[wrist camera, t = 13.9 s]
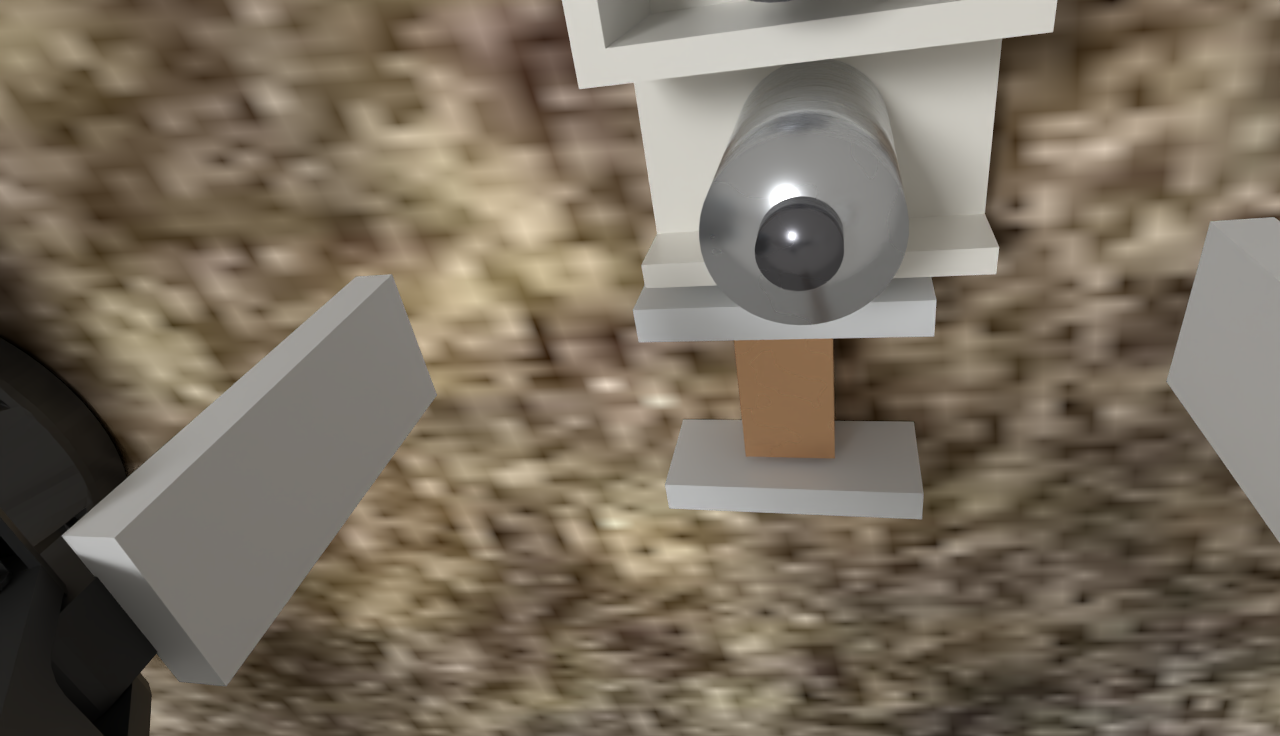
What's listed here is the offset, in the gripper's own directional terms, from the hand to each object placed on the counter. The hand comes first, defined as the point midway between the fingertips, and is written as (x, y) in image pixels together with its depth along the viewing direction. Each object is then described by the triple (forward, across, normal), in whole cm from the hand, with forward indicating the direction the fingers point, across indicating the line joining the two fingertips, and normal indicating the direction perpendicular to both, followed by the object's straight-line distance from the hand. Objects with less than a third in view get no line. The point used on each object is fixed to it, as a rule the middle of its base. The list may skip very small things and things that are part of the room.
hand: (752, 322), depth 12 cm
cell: (+11, +1, 0) cm, 11 cm away
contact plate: (+13, 0, -9) cm, 15 cm away
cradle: (+13, 0, -9) cm, 15 cm away
